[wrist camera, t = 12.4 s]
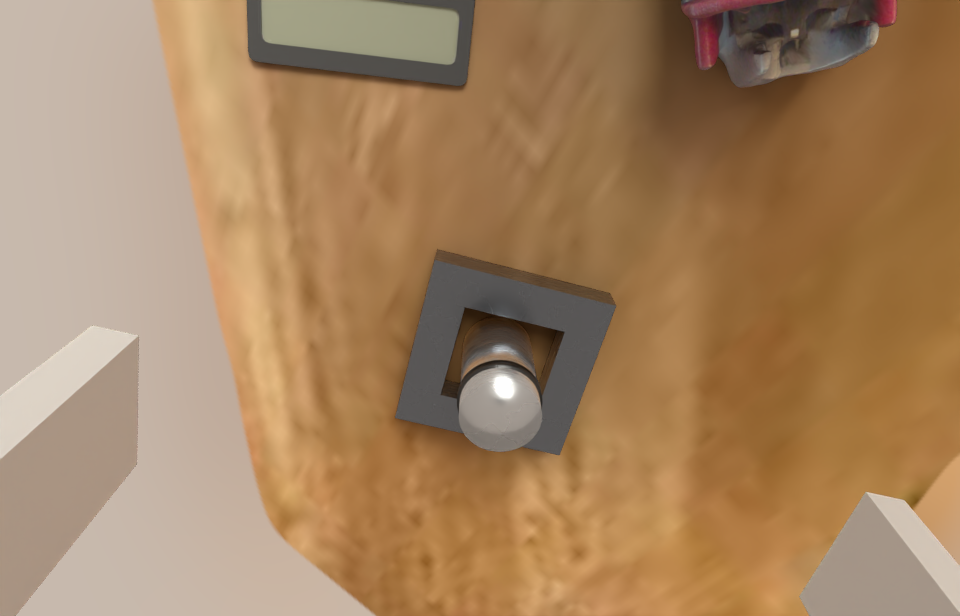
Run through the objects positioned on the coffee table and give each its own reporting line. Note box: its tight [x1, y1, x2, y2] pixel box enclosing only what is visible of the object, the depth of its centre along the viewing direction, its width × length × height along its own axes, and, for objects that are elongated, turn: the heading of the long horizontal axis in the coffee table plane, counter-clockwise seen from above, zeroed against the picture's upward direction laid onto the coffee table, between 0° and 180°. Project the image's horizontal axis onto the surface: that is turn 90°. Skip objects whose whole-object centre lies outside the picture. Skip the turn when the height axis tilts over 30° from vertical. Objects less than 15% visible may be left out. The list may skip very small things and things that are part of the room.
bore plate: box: [395, 249, 616, 455], centre depth 40 cm, size 11×11×2 cm
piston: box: [457, 317, 543, 452], centre depth 37 cm, size 5×5×8 cm
